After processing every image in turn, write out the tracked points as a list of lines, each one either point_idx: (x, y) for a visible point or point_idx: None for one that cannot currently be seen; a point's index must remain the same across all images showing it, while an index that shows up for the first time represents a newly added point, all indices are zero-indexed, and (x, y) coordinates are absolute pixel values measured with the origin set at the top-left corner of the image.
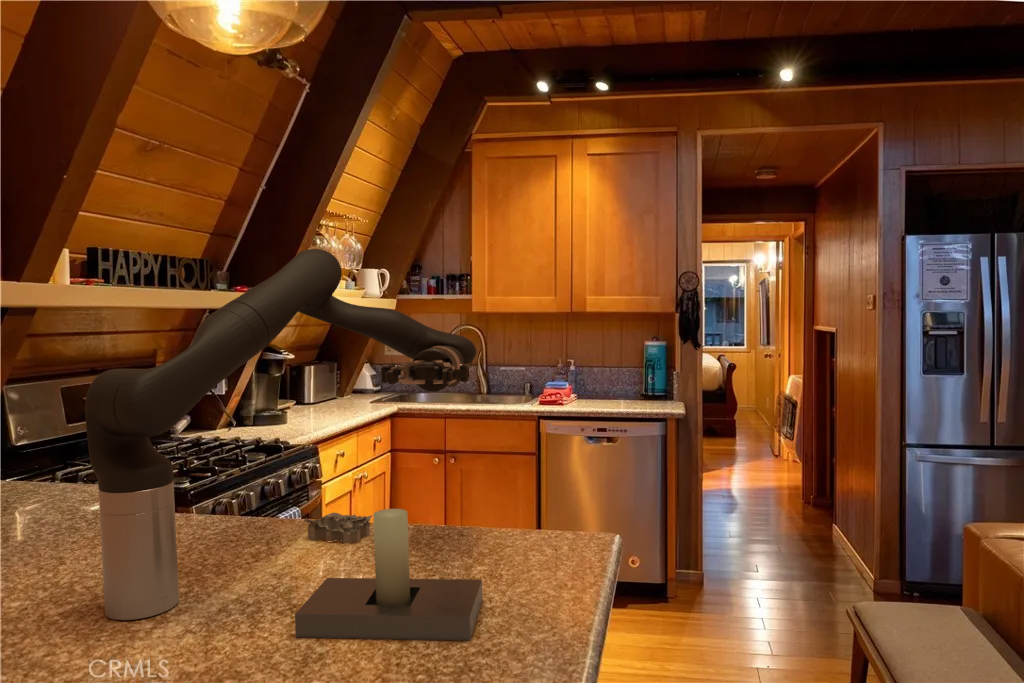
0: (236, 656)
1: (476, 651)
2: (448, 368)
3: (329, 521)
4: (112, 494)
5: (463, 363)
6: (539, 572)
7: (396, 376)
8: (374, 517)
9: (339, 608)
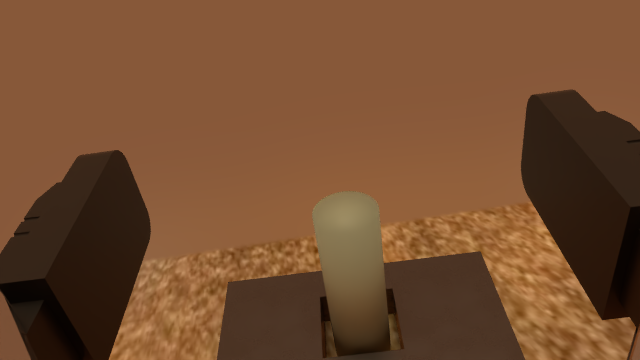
0: (519, 232)
1: (227, 285)
2: (42, 221)
3: None
4: None
5: None
6: None
7: (576, 217)
8: (370, 197)
9: (425, 274)
